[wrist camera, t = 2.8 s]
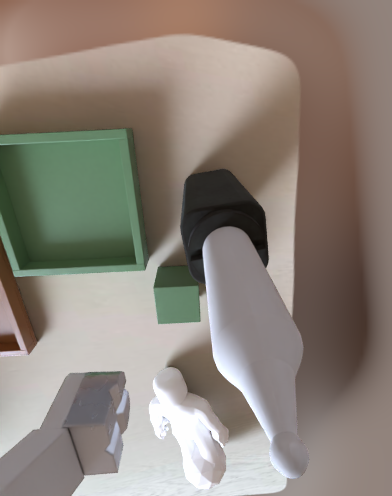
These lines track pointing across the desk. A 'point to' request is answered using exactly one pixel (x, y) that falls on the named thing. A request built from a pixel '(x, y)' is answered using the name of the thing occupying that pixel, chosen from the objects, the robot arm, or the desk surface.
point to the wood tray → (13, 314)
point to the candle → (245, 307)
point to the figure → (190, 428)
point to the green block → (176, 295)
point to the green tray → (71, 203)
